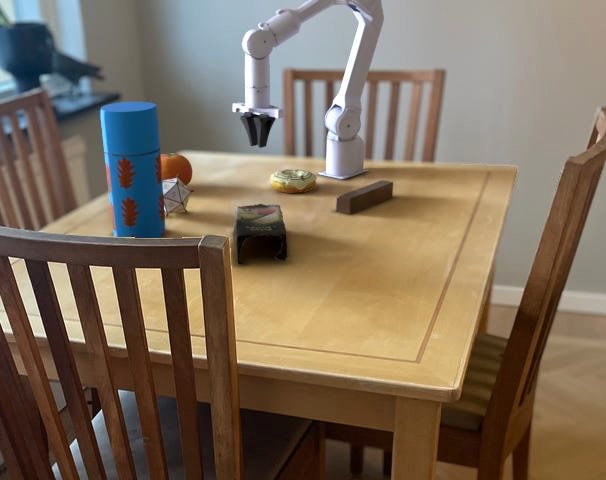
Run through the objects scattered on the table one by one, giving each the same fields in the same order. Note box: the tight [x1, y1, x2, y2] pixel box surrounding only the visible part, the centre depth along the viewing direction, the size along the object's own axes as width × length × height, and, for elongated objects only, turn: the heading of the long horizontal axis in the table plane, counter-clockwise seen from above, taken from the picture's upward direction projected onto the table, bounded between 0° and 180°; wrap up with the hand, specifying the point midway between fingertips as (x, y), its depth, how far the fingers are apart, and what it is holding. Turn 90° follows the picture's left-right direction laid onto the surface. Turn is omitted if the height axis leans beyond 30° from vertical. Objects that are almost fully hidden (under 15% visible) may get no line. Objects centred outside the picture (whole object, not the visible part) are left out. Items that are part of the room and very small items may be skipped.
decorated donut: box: [269, 168, 318, 194], centre depth 186 cm, size 10×11×4 cm
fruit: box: [161, 152, 193, 187], centre depth 189 cm, size 11×10×8 cm
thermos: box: [100, 101, 166, 239], centre depth 156 cm, size 11×11×25 cm
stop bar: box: [335, 179, 394, 215], centre depth 174 cm, size 16×4×4 cm, turn 136°
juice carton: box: [232, 203, 289, 265], centre depth 152 cm, size 20×10×6 cm, turn 1°
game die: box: [162, 174, 195, 219], centre depth 171 cm, size 9×8×10 cm
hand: (258, 146), depth 190 cm, fingers closed
